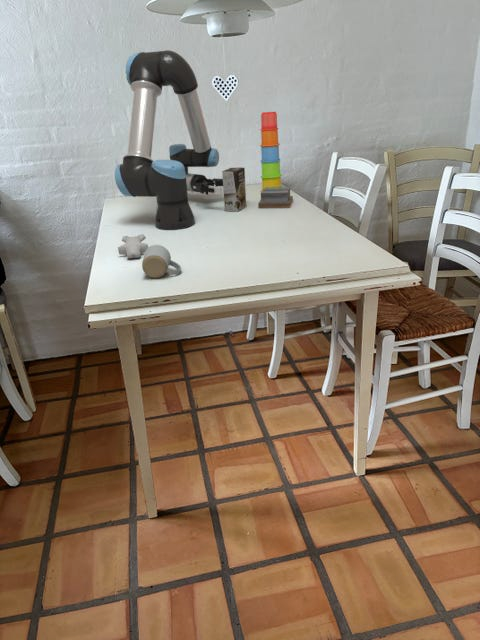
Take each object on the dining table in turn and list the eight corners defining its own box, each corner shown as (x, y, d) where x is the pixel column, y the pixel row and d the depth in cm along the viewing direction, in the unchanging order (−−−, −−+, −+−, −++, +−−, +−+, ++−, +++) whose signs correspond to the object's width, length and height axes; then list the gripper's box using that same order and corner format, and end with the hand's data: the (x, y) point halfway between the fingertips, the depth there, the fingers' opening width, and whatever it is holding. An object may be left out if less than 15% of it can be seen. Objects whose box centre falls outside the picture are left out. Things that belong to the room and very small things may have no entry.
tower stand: (289, 208, 196) (289, 193, 193) (258, 208, 198) (257, 193, 195) (292, 200, 207) (292, 186, 204) (263, 200, 209) (262, 186, 207)
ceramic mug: (143, 280, 134) (139, 254, 130) (146, 269, 141) (142, 244, 137) (180, 278, 134) (178, 252, 131) (182, 267, 141) (179, 242, 138)
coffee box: (238, 212, 195) (236, 171, 187) (224, 211, 197) (221, 171, 190) (247, 206, 202) (245, 167, 195) (233, 205, 205) (230, 166, 197)
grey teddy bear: (116, 250, 147) (118, 231, 159) (119, 265, 149) (120, 245, 162) (147, 247, 148) (146, 228, 160) (149, 261, 151) (148, 242, 163)
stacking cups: (257, 193, 222) (254, 113, 206) (265, 189, 230) (263, 111, 215) (278, 194, 218) (277, 112, 203) (285, 189, 227) (284, 110, 211)
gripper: (215, 186, 220) (251, 190, 208) (176, 197, 204) (212, 203, 191) (214, 169, 217) (250, 173, 204) (174, 179, 200) (210, 184, 188)
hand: (232, 187), depth 198 cm, fingers open, 13 cm apart
